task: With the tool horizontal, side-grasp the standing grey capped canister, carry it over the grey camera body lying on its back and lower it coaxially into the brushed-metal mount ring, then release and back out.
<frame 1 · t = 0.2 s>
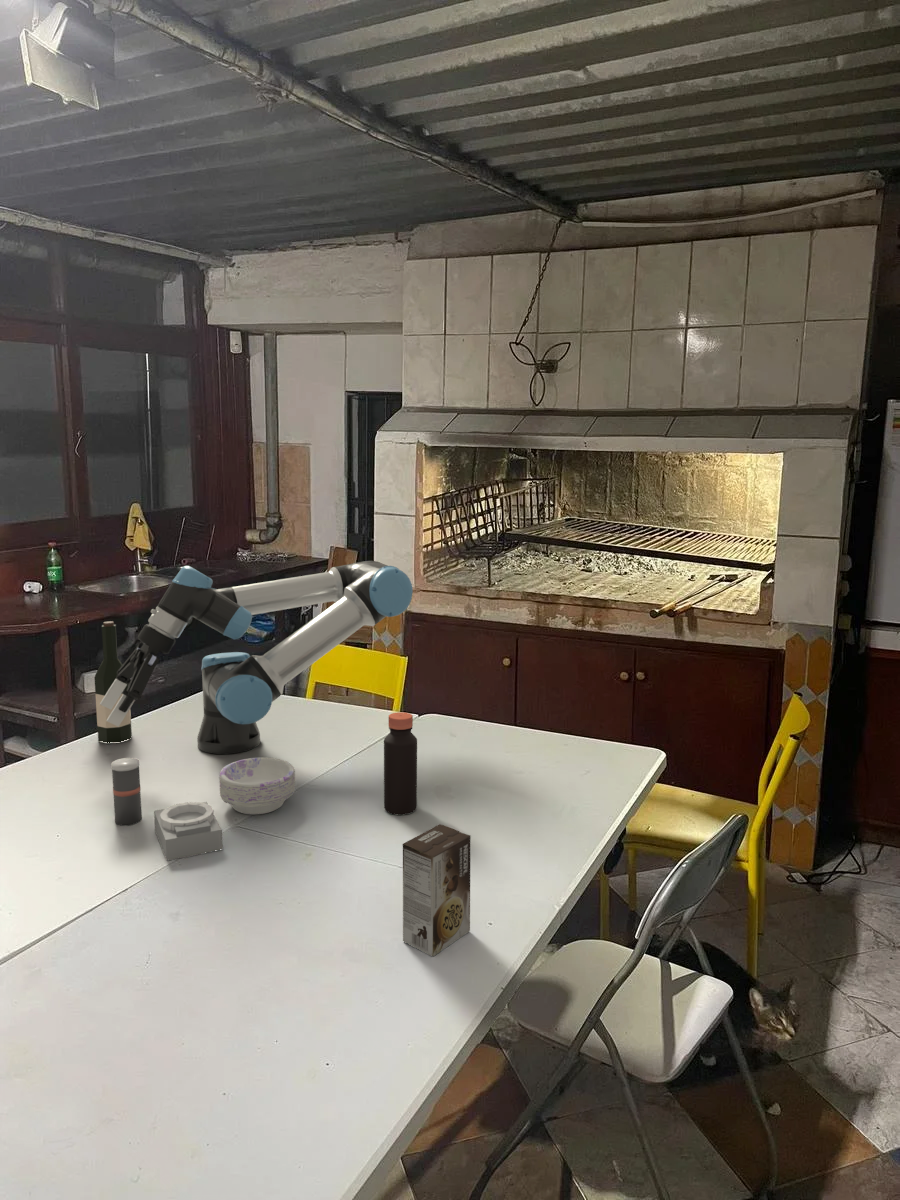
hand: (108, 715, 190), 15 cm above the table, tool tilted 35°, fingers open, 13 cm apart
grey capped canister: (128, 820, 173), on the table
wine bottle: (115, 739, 220), on the table
coffee box: (436, 938, 134), on the table
paper bowls: (258, 806, 181), on the table
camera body: (188, 839, 165), on the table
vinegar: (400, 809, 180), on the table
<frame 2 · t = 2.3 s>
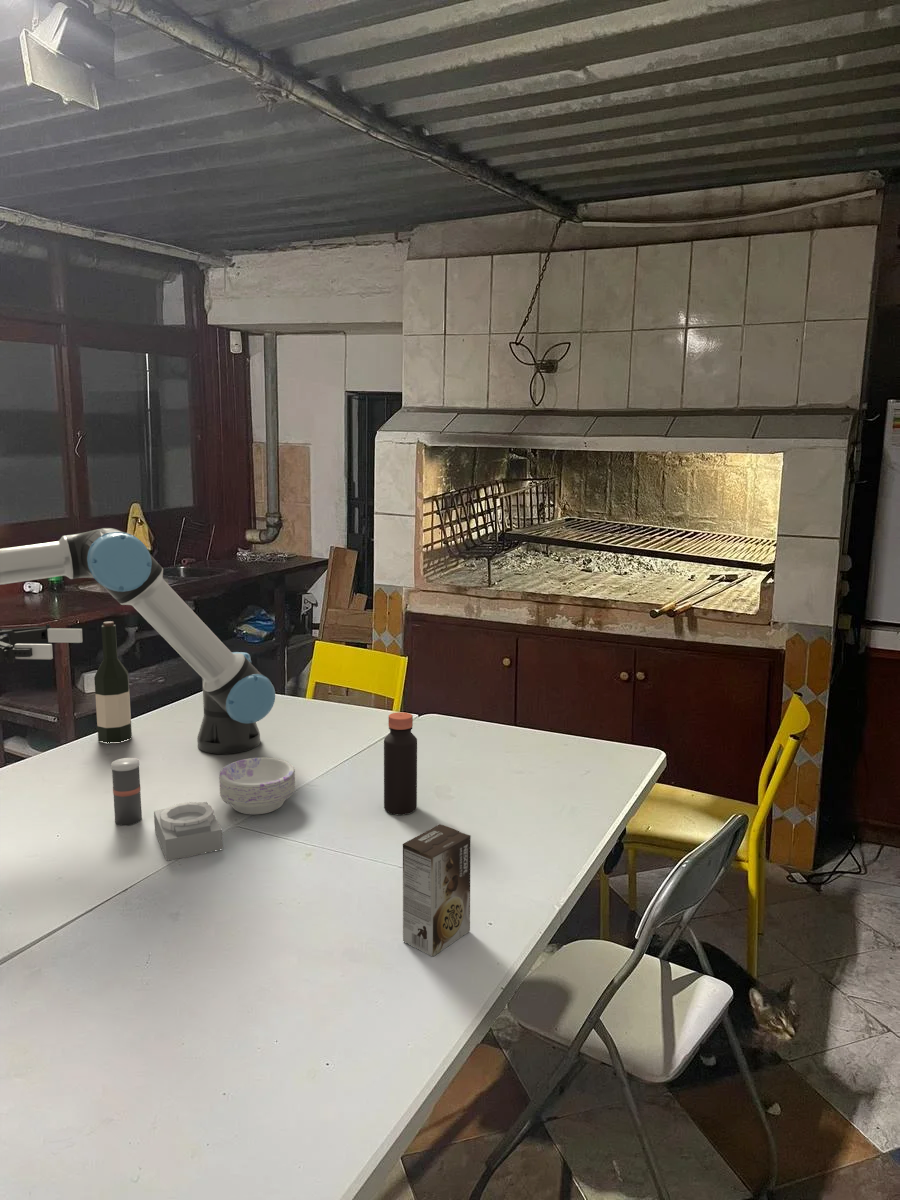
hand: (67, 643, 167), 36 cm above the table, tool horizontal, fingers open, 13 cm apart
nothing on the table moved.
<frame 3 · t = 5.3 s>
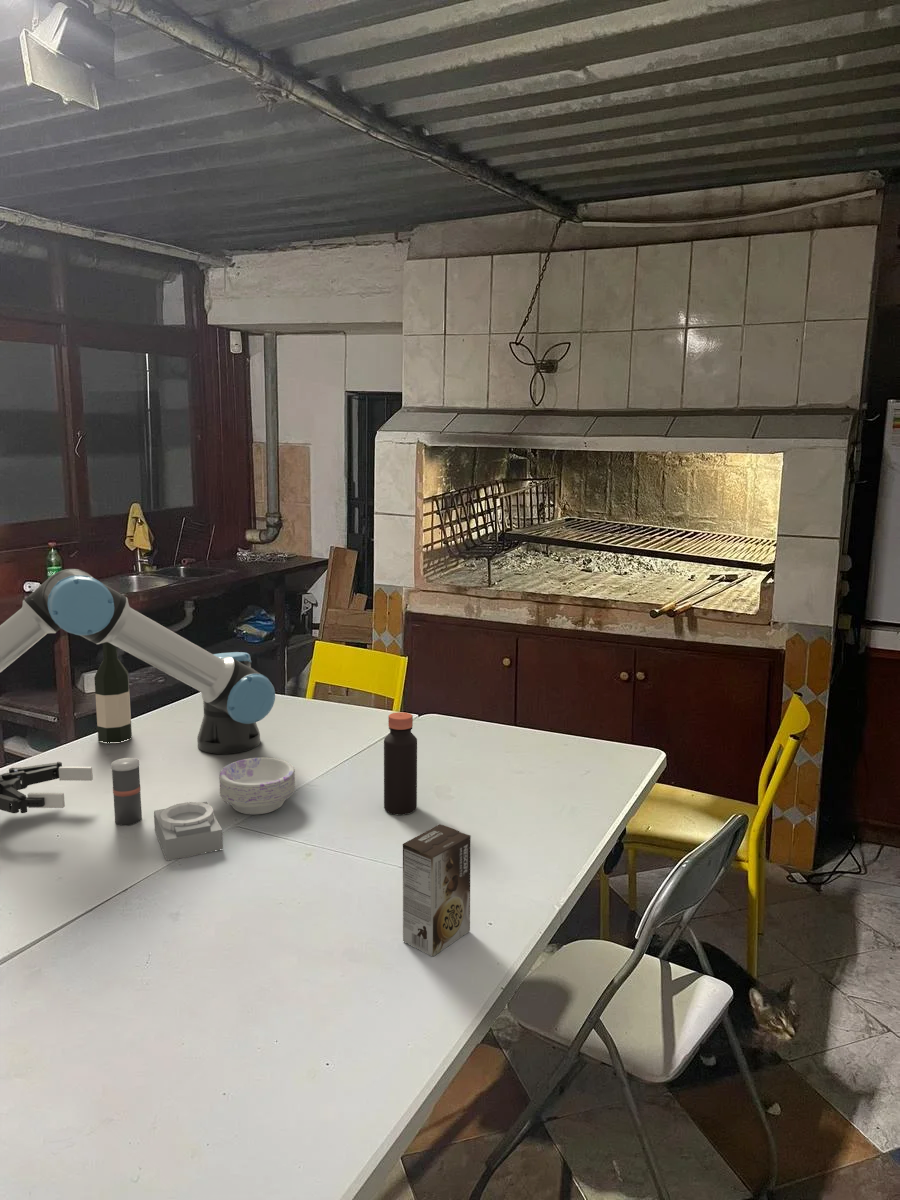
hand: (78, 786, 172), 7 cm above the table, tool horizontal, fingers open, 13 cm apart
nothing on the table moved.
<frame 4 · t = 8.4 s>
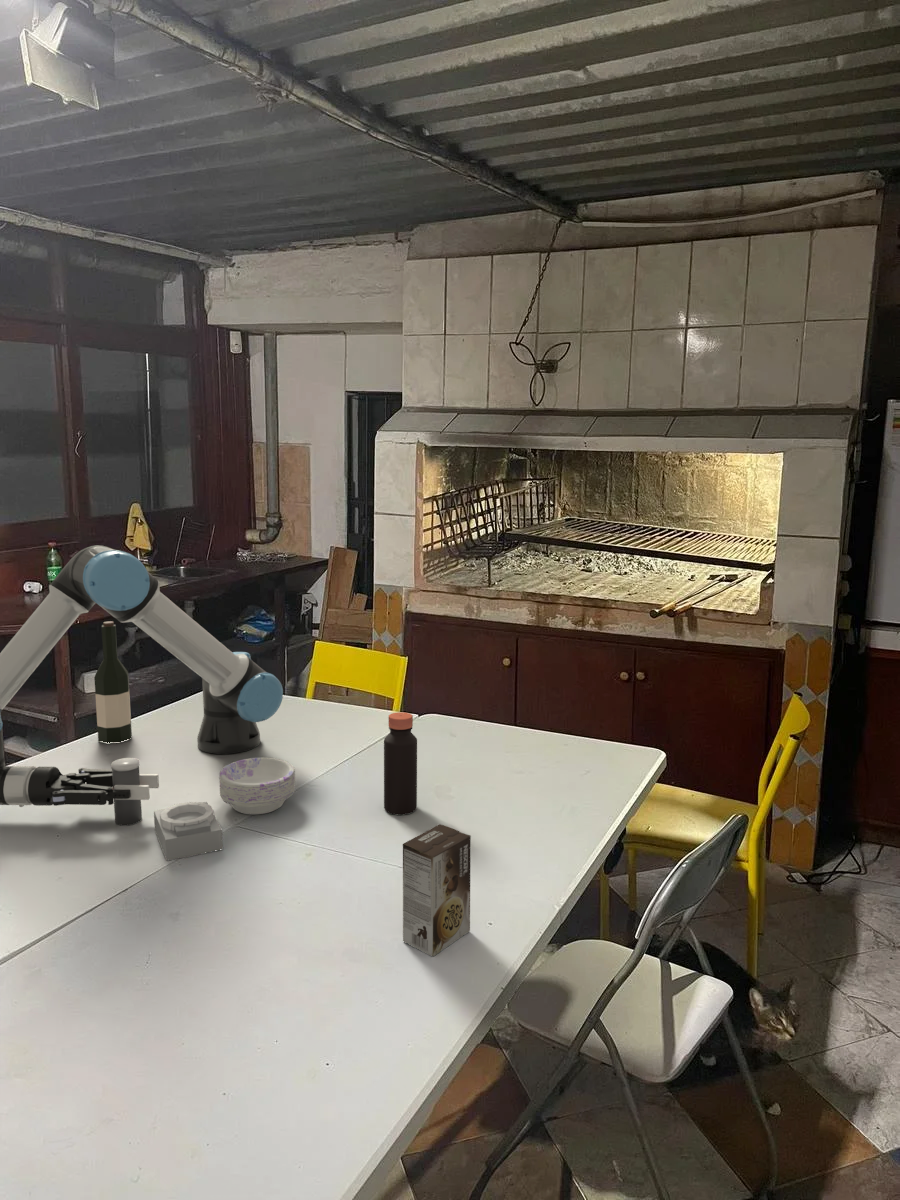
hand: (153, 786, 172), 7 cm above the table, tool horizontal, fingers closed on grey capped canister, 5 cm apart
grey capped canister: (128, 819, 173), on the table, touching gripper
everything else where it was.
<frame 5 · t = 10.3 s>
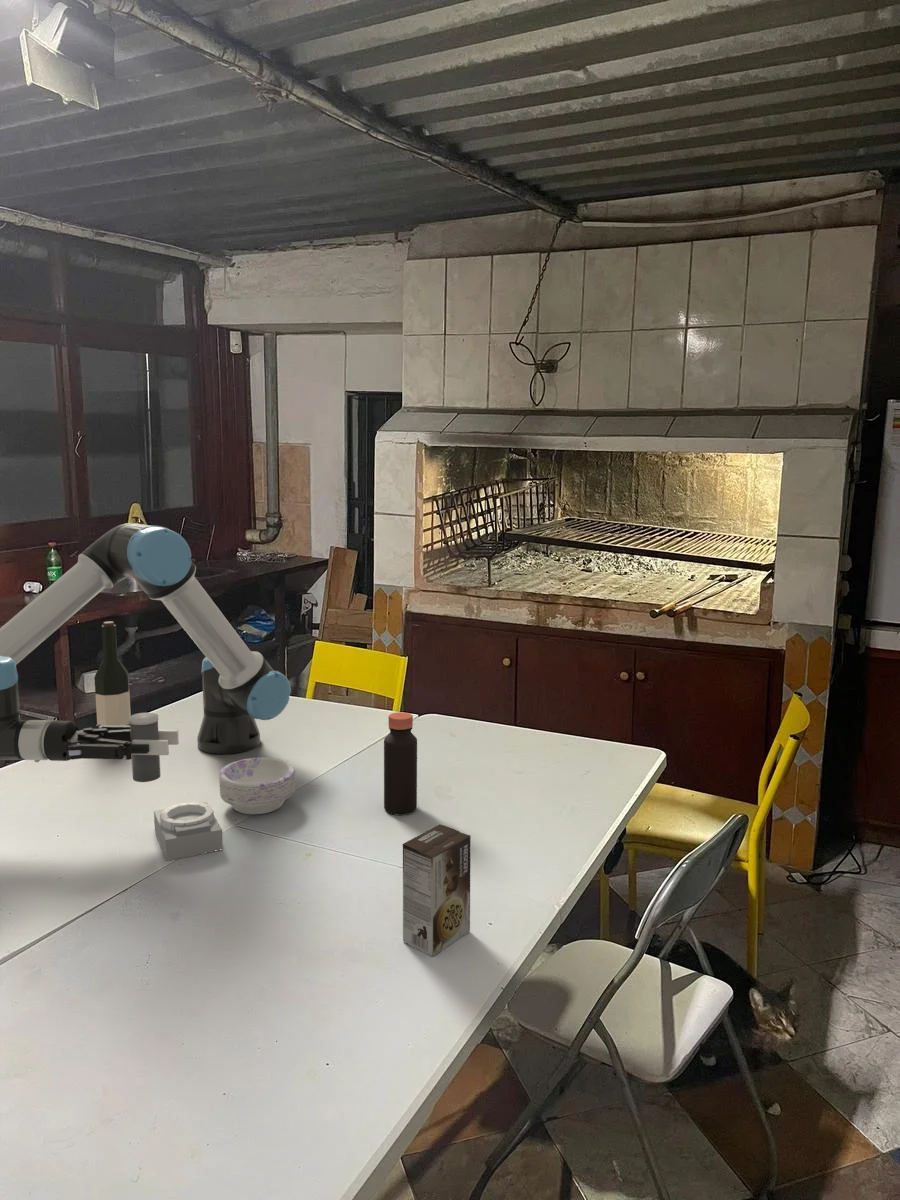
hand: (172, 742, 165), 18 cm above the table, tool horizontal, fingers closed on grey capped canister, 5 cm apart
grey capped canister: (146, 777, 167), point 11 cm above the table, touching gripper
everything else where it was.
when the fingers open (12 cm above the table, at t = 12.6 s): grey capped canister stays where it is, resting on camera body.
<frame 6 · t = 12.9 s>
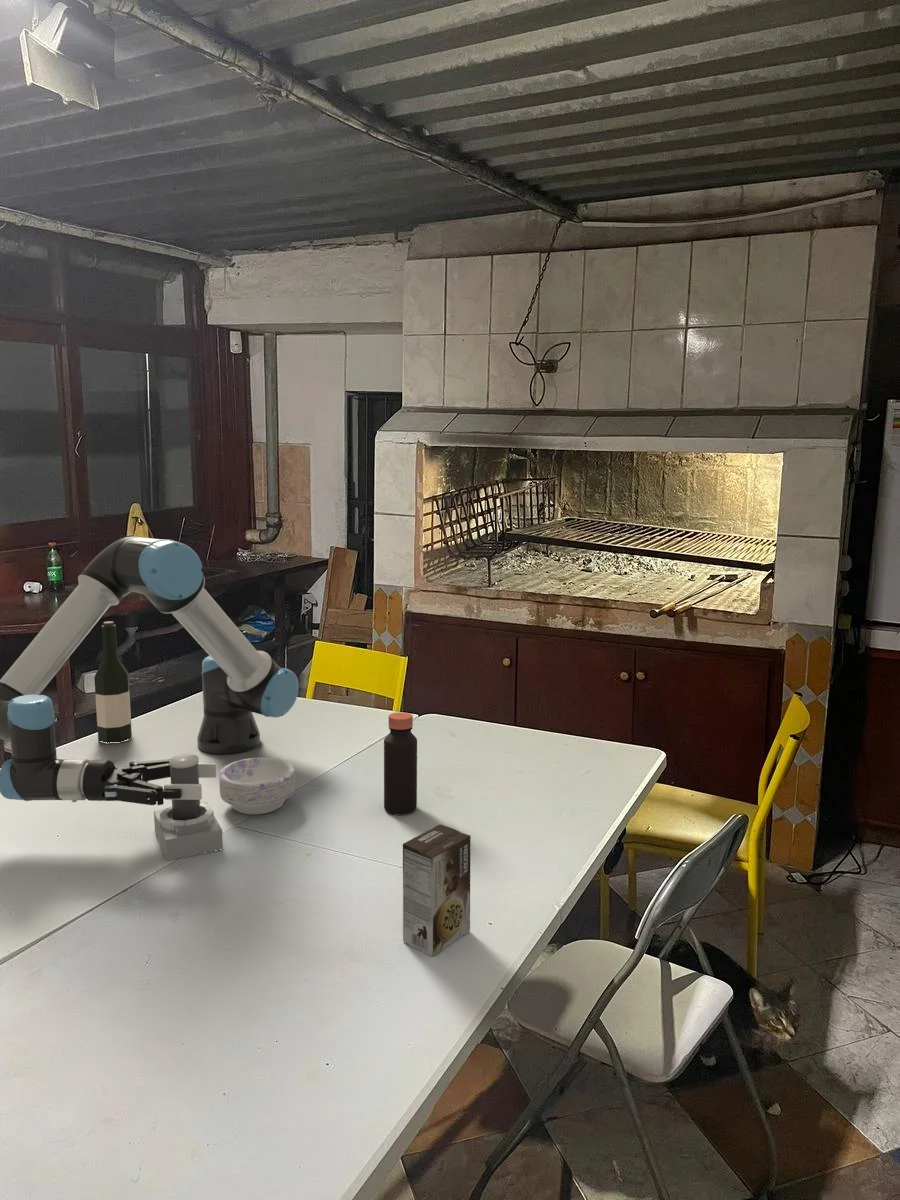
hand: (208, 780, 163), 12 cm above the table, tool horizontal, fingers open, 10 cm apart
grey capped canister: (186, 819, 164), point 4 cm above the table, touching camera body
everything else where it was.
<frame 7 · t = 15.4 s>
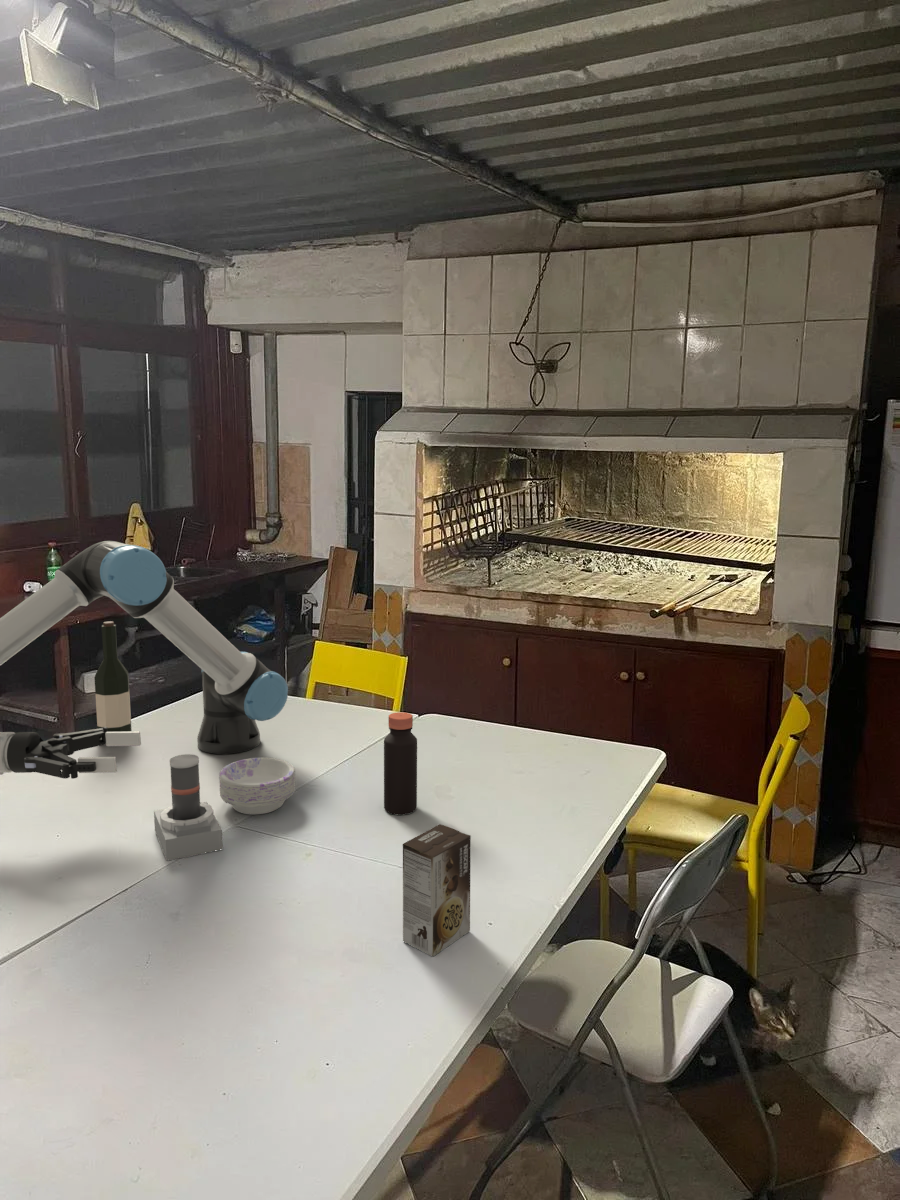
hand: (128, 751, 164), 17 cm above the table, tool horizontal, fingers open, 13 cm apart
nothing on the table moved.
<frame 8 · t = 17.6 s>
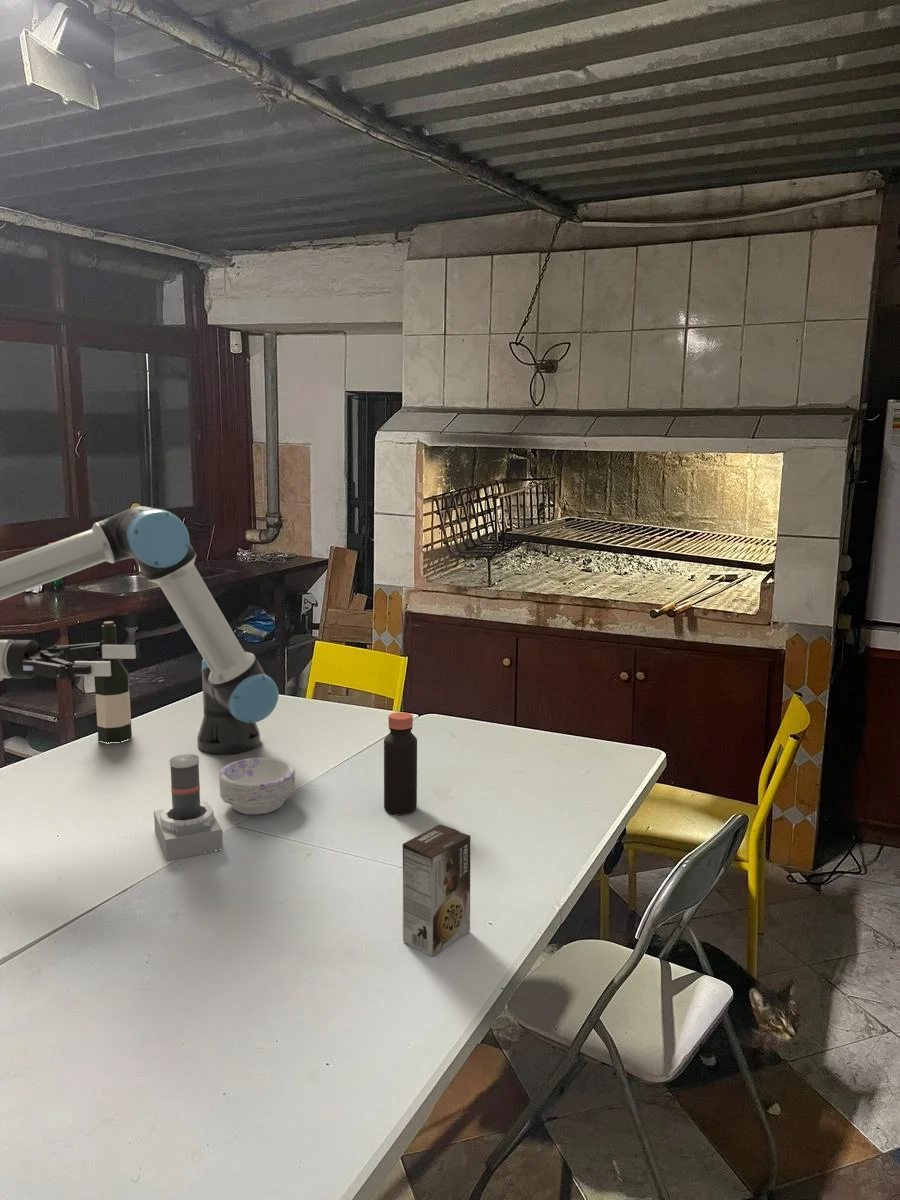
hand: (123, 660, 170), 32 cm above the table, tool horizontal, fingers open, 13 cm apart
nothing on the table moved.
at the end: grey capped canister 0.0 cm off-centre on the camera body, point 4.0 cm above the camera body's base; grey capped canister tilted 0°; the gripper is holding nothing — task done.
